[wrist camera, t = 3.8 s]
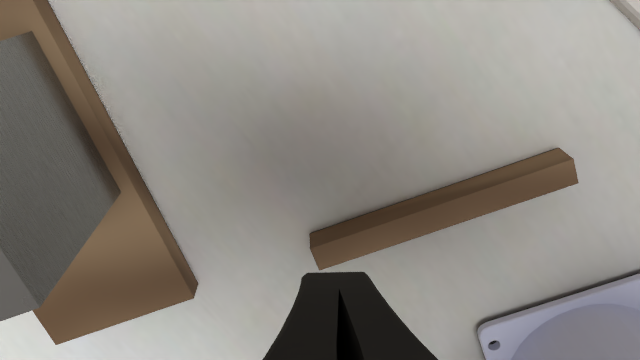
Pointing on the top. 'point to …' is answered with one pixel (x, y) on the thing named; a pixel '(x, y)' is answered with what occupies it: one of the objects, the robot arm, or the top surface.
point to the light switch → (629, 10)
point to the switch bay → (443, 208)
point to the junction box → (43, 178)
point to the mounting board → (119, 222)
